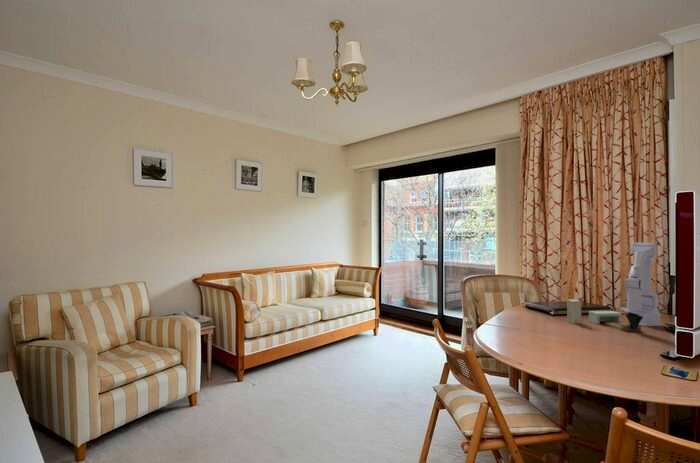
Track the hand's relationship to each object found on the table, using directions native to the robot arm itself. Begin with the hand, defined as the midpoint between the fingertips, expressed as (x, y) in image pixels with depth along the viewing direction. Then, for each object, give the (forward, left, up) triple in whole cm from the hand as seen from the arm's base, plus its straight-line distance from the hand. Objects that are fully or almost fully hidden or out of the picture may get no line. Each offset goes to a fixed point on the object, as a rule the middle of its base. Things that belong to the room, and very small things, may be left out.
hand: (634, 329), depth 177 cm
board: (0, -7, -1) cm, 7 cm away
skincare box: (+17, -20, -2) cm, 26 cm away
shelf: (0, -19, -1) cm, 19 cm away
